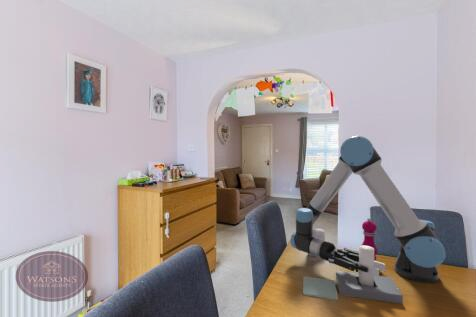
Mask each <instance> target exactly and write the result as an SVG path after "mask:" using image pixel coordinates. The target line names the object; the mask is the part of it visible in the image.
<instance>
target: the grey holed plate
mask: <svg viewBox="0 0 476 317" xmlns="http://www.w3.org/2000/svg"><path fill="white" fill-rule="evenodd" d="M335 280H336V284H337V288H338V292H339V296H345V297H353V298H359V299H360V298H361V299H365V300H374V301H380V302H388V303H393V304H394V303H395V304H400V305H403V302H404V300H403V299H404V298H403V296H404V295H403V293H402V292H401V290H400V289H399V287H398V285H397V284H396V283H395V281H394V280H393V278H392V277H391V276H382V275H379V277H376V276H374V287H369V286H361V285H359V272H352V271H351V272H350V271H342V270H336V271H335Z"/></svg>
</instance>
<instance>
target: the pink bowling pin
mask: <svg viewBox="0 0 476 317" xmlns="http://www.w3.org/2000/svg"><path fill="white" fill-rule="evenodd" d="M361 227H362V230H363V231H362V233H363V235H364V238H363V241H362V243H361V245H360V246H362V245H365V246H370V247H373V248H374V260H375V261H377V255H378V248H377V246H376V244H375V238H374V237H375V236H376V231H377V225H376V223H375V222H373V221H372V218H370V217H368V218H367V220H366V221H364V222H362V225H361Z"/></svg>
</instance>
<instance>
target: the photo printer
mask: <svg viewBox="0 0 476 317" xmlns="http://www.w3.org/2000/svg"><path fill="white" fill-rule="evenodd" d="M324 230H325V229H322V228H315V229H313V234H312V237H314V238H317V239H320V240H324V241H326V233H325V231H324ZM307 255H308V256H310V257H314V256H313V255H311V254H308V253H307Z"/></svg>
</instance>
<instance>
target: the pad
mask: <svg viewBox="0 0 476 317" xmlns="http://www.w3.org/2000/svg"><path fill="white" fill-rule="evenodd" d="M302 279H303V281H302V295H303V296H309V297H316V298H323V299H328V300H335V301H336V300H337V301H339V296H338V291H337V286H336V282H335V280H334V279H333V280H331V279H325V278H318V277H309V276H302Z"/></svg>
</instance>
